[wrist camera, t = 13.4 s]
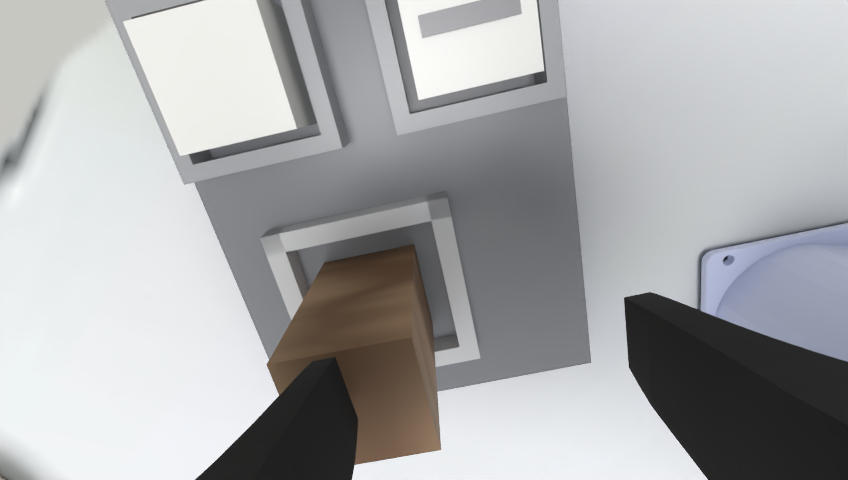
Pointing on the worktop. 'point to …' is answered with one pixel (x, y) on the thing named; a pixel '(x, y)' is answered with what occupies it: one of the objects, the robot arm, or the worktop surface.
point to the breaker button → (470, 42)
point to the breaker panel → (372, 169)
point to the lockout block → (371, 349)
